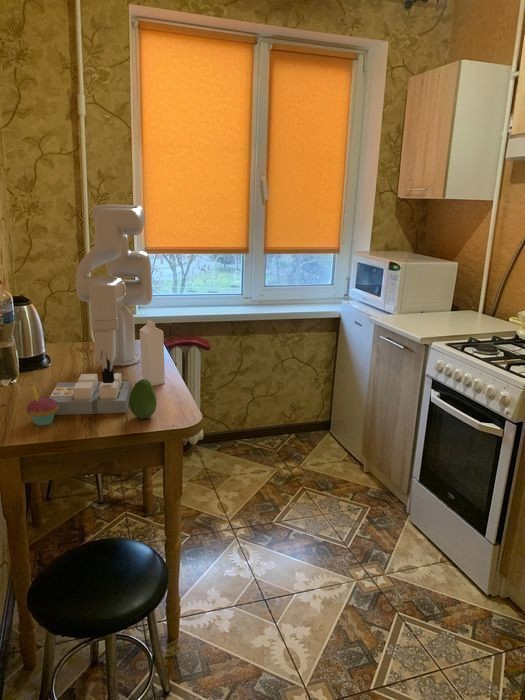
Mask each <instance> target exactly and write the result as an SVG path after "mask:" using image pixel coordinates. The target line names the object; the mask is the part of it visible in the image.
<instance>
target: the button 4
mask: <svg viewBox="0 0 525 700" xmlns="http://www.w3.org/2000/svg"><path fill="white" fill-rule="evenodd" d="M122 380H123V379H122V373H121V372H120V373H119V372H116V373H115V372H114V382H118V385H119V390H121V389H122Z"/></svg>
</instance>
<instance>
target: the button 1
mask: <svg viewBox="0 0 525 700" xmlns="http://www.w3.org/2000/svg"><path fill="white" fill-rule="evenodd" d="M77 382H93V384H94V390H97V389H98V382H99V377H98V373H81V374H80V376H79V377H78V379H77Z"/></svg>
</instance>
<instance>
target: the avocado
mask: <svg viewBox="0 0 525 700" xmlns="http://www.w3.org/2000/svg"><path fill="white" fill-rule="evenodd" d="M157 405H158V404H157V395H156V393H155V390H154V388H153V386H152V385H151V383H150V382H149V381H148V380H147V379H142V378H141V379H140V380H138V381H136V383H135V384H134V385H133V387H132V392H131V395H130V398H129V404H128V407H129V409H130V411H131V413H132V414H133V415H134V416H135V417H136V418H137V419H140V420H146V419H147V420H148V419H149V418H150V417H152V415H153V414H154V413H155V411H156V410H157V409H156V408H157Z"/></svg>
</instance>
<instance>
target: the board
mask: <svg viewBox="0 0 525 700" xmlns="http://www.w3.org/2000/svg"><path fill="white" fill-rule="evenodd" d="M101 382H102V381H98V389H97V390H94V398H93V399H92V400H74V393H73V388H74V386H75V384H76V381H71V382H67V381H65V382H63V381H62V382H60V381H59V382H58V383H57V384H56V386H55V387H54V389H53V390H52V392H51V393H50V395H49V396H48V398H51V399H54V400H55V401H56V402H58V405H59V410H58V411H57V412H56V413H55V414H54V416H60V415H61V416H63V415H65V416H66V415H90V414H91V415H92V414H93V415H95V414H97V415H98V414H125V413H127V410H128V407H129V398H130V395H131V392H132V389H133V387H132V380H123V381H122V389H121V390H119V398H118V399H100V394H99V387H100V385H101Z"/></svg>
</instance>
